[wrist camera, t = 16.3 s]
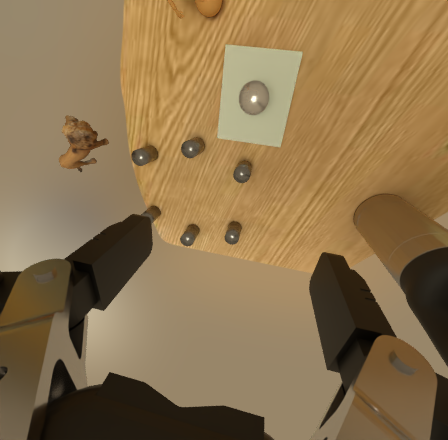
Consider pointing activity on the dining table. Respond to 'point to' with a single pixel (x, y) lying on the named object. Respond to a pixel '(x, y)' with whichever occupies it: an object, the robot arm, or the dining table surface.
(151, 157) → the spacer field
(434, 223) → the robot arm
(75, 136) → the lion figurine
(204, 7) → the figurine
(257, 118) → the sage mat
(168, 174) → the dining table surface
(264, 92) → the clear rounded cylinder
